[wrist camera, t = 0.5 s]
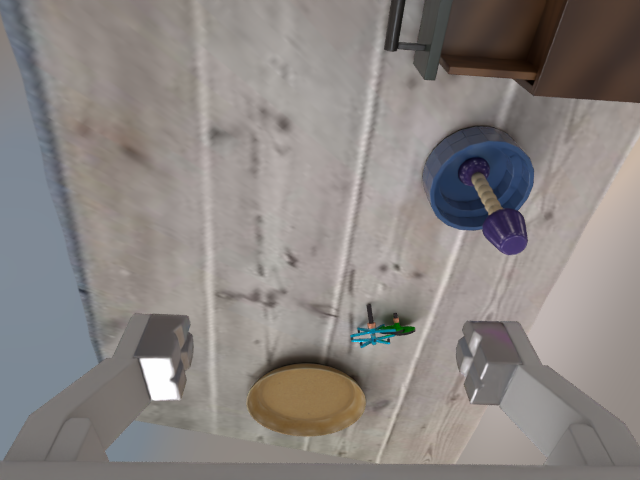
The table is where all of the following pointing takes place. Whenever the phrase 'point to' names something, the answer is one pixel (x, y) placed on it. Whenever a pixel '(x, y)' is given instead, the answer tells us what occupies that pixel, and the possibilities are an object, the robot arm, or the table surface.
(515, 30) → the drawer
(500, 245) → the toy lamp
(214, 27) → the table surface
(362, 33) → the table surface
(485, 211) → the bowl
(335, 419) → the plant saucer
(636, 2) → the cabinet
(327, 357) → the table surface
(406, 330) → the stick construction toy
